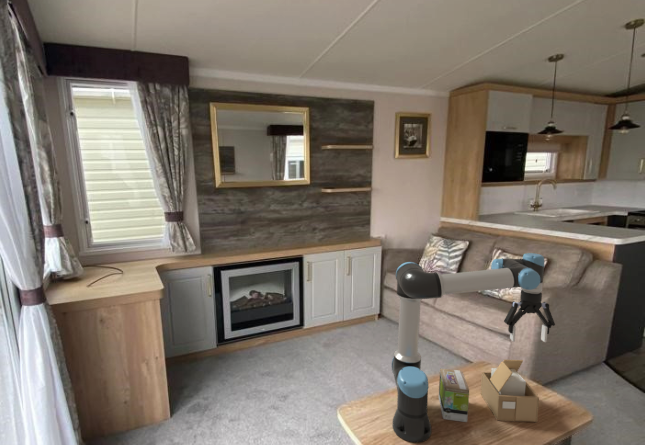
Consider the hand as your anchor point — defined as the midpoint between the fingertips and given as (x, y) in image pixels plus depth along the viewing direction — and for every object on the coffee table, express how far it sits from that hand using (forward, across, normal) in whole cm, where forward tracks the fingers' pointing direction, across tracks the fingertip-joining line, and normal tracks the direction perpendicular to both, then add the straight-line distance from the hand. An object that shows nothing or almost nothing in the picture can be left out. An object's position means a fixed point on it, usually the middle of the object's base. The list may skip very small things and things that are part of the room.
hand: (527, 340), depth 144 cm
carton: (+32, -5, +2) cm, 33 cm away
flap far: (+17, -2, +8) cm, 18 cm away
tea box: (+33, -30, 0) cm, 44 cm away
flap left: (+17, -10, 0) cm, 19 cm away
